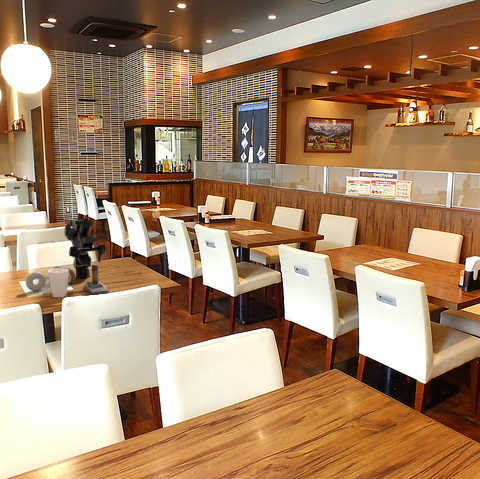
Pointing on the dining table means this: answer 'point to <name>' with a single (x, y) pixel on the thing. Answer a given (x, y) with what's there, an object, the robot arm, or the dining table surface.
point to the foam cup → (58, 281)
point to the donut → (31, 277)
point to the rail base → (96, 289)
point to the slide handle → (95, 277)
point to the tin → (71, 275)
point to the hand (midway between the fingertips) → (90, 263)
